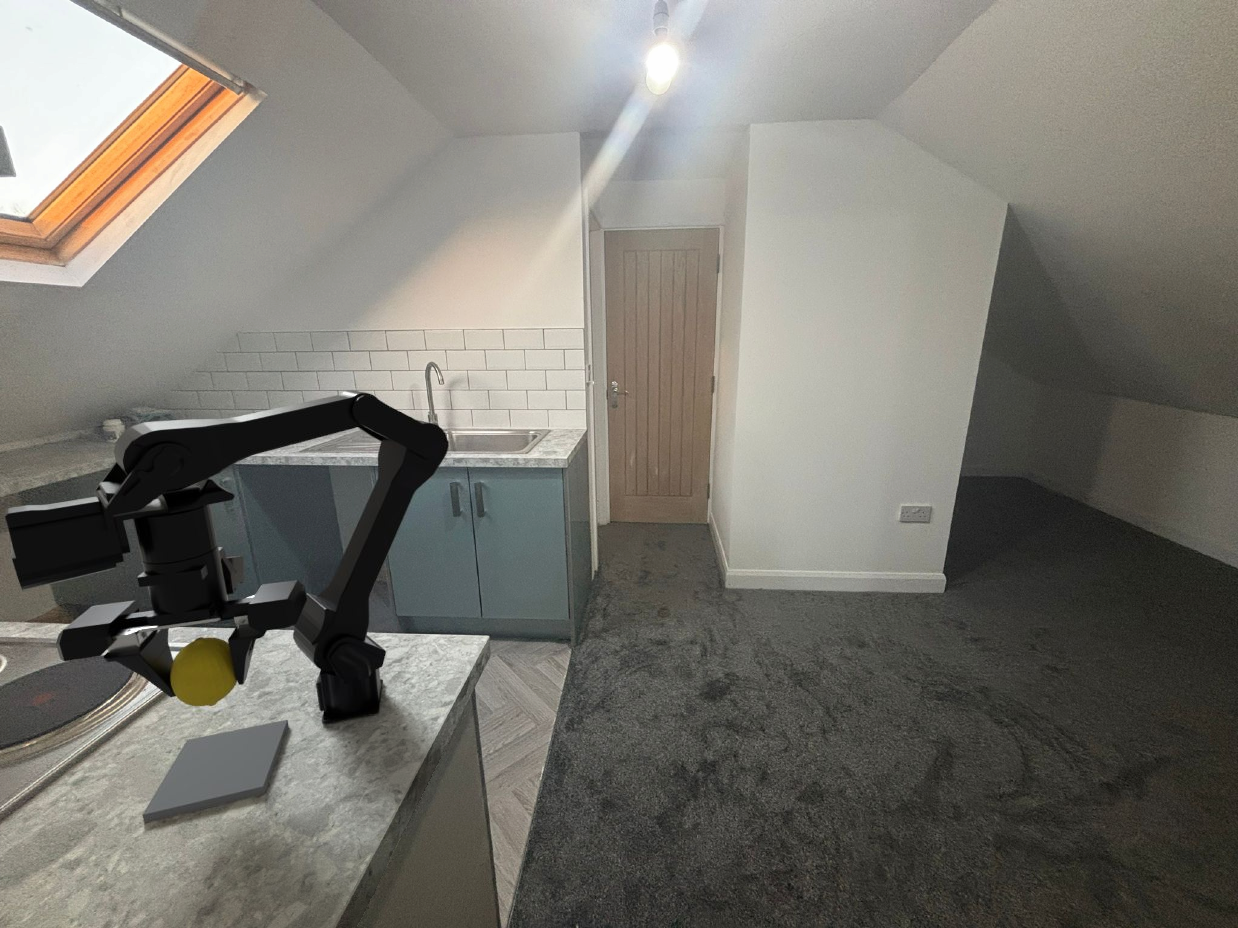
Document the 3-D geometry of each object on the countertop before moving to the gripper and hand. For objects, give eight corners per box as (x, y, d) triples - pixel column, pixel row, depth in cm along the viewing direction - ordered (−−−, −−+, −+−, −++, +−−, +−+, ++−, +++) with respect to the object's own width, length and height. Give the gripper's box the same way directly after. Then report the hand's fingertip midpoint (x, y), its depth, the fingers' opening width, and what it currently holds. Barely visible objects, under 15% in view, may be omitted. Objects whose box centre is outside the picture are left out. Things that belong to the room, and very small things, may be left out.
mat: (288, 726, 62) (287, 719, 62) (264, 793, 53) (262, 786, 52) (188, 746, 58) (187, 739, 58) (144, 822, 49) (142, 814, 49)
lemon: (209, 727, 50) (194, 658, 48) (164, 718, 52) (148, 650, 50) (257, 691, 56) (246, 627, 54) (216, 683, 57) (203, 620, 55)
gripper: (308, 514, 60) (324, 631, 64) (106, 532, 53) (138, 660, 57) (283, 552, 50) (304, 687, 54) (31, 579, 43) (76, 730, 47)
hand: (209, 688), depth 53 cm, fingers closed on lemon, 5 cm apart
